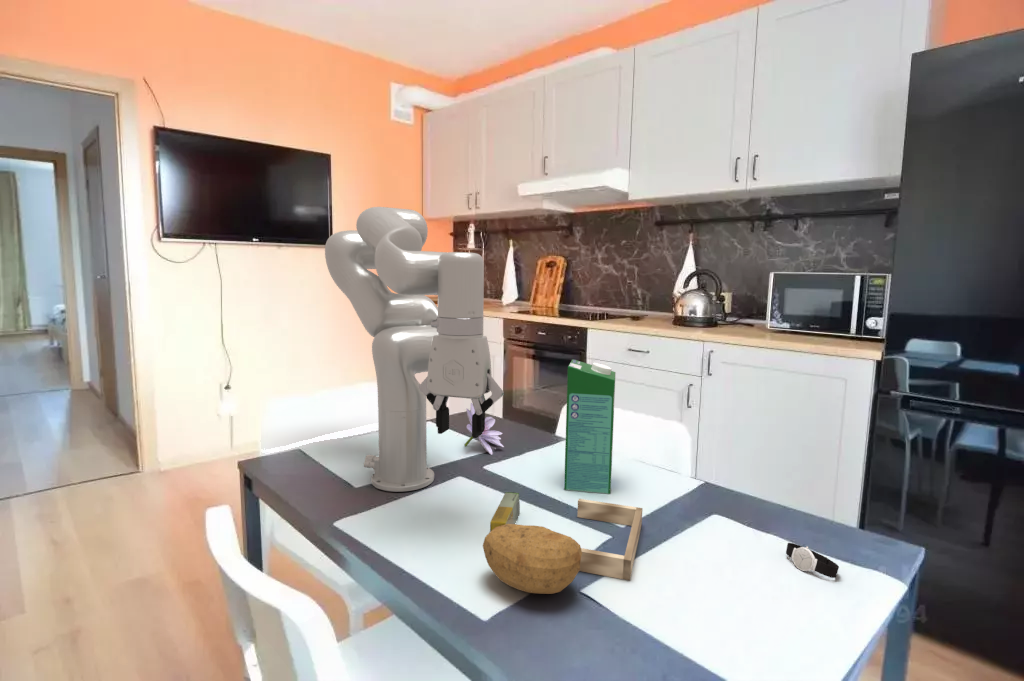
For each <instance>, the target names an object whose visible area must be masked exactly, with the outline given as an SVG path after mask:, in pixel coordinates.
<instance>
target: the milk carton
mask: <svg viewBox="0 0 1024 681" xmlns="http://www.w3.org/2000/svg"><path fill="white" fill-rule="evenodd" d="M612 369H613V368H612V367H610V366H608V365H606V364H601V363H599V362H593V363H592V364H590V363H586V362H583V361H579V360H577V359H571V361H570V363H569V364H568V366H567V375H566V376H567V381H566V382H567V383H566V410H565V411H566V412H565V413H566V416H565V449H564V450H565V451H564V452H565V453H564V454H565V456H564V487H563V489H565V490H566V491H575V492H584V491H585V493H597V494H607V495H611V491H612V490H611V489H612V474H613V473H612V472H613V471H612V470H613V468H612V466H613V444H614V419H615V394H616V374H617V373H616V371H614V370H612ZM565 490H564V491H565Z"/></svg>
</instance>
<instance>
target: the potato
mask: <svg viewBox="0 0 1024 681" xmlns="http://www.w3.org/2000/svg"><path fill="white" fill-rule="evenodd" d="M482 548H483V553H484V557H485V559H486V562H487V565H488V567H489V568H490V570H491V571H492V572H493V574H495V576H496V577H497V578H498V579H499V580H500V581H501V582H502V583H504V584H506V585H508V586H509V587H511V588H514V589H515V590H516V589H517V590H518V591H522V592H525V593H530V594H540V595H541V594H543V595H545V594H546V595H549V594H551V595H552V594H556V593H560V592H562V591H563V590H564V589H566V588H567V587H568V586H569V585H570V584H571V583H572V582H573V581H574V579H575V578H576V577H577V575H578V574H579V572H580V571H579V570H580V561H581V556H582V550H581V548H582V547H581V545H580V543H579V542H577V541H576V540H575V539H574V538H573V537H571V536H569V535H565V534H563V533H560V532H556V531H555V530H551V529H549V528H547V527H545V526H540V525H530V524H529V525H524V524H517V523H516V524H506V525H502V526H498V527H495V528H494V529H493V530H492V531H491V532H490V531H489V533H488V534H487V535H486V536H485V537H484V540H483V543H482Z"/></svg>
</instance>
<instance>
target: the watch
mask: <svg viewBox="0 0 1024 681" xmlns="http://www.w3.org/2000/svg"><path fill="white" fill-rule="evenodd" d="M785 554H786V555H787V556H788V557H790V558H791V560H792V562H793V563H794V565H795V566H796V568H797V569H798V570H800V571H803V572H811V571H813V572H816V573H819V574H821V575H822V576H825V577H828V578H833V579H835V578H836V577H837V574H838V572H839V568H840V567H839V565H838V564H837V563H836V562H834V561H833V560H832V559H829V558H828V557H827V556H824V555H822V554H820V553H818V552H816V551H814V550H812V549H809V546H806V547H804V546H802V545H799V544H796V543H793V542H787V546H786V551H785Z"/></svg>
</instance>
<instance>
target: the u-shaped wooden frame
mask: <svg viewBox="0 0 1024 681" xmlns="http://www.w3.org/2000/svg"><path fill="white" fill-rule="evenodd" d="M576 517H577V518H582V519H587V520H593V521H600V522H605V523H612V524H618V525H625V526H631V528H630V532H629V536H628V540H627V544H626V548H625V553H624V555H622V554H617V553H611V552H606V551H601V550H600V551H599V550H594V549H590V548H583V547H581V550H582V556H581V561H580V570H579V572H583V573H588V574H594V575H599V576H604V577H609V578H614V579H620V580H625V581H629V582H630V581H631V577H632V572H633V567H634V563H635V559H636V553H637V549H638V544H639V540H640V534H641V531H642V524H643V507H639V506H638V507H637V506H631V505H624V504H617V503H610V502H603V501H597V500H590V499H586V498H585V499H584V498H578V500H577V515H576Z"/></svg>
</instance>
